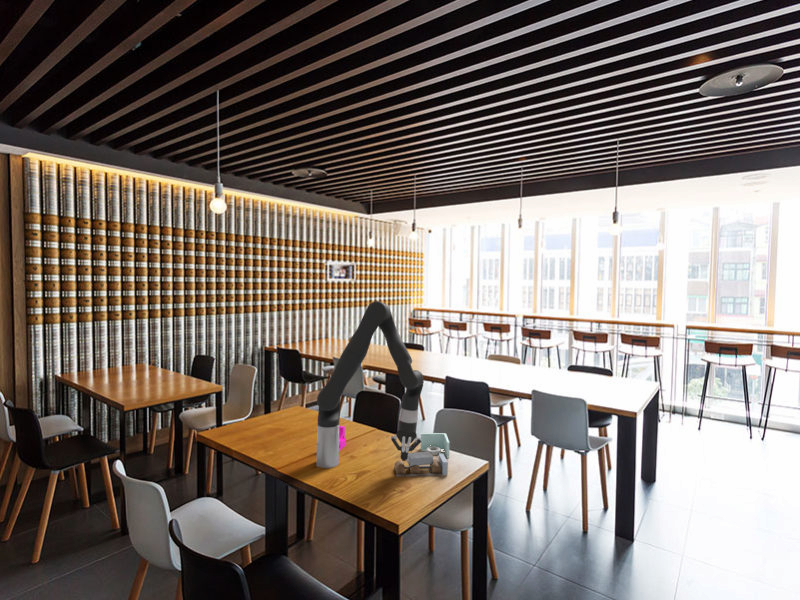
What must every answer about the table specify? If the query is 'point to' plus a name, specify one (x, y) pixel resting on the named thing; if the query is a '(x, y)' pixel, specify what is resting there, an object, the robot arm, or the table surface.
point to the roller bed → (418, 469)
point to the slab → (419, 458)
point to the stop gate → (443, 464)
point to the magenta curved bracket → (342, 437)
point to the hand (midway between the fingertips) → (403, 460)
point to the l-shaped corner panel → (435, 443)
